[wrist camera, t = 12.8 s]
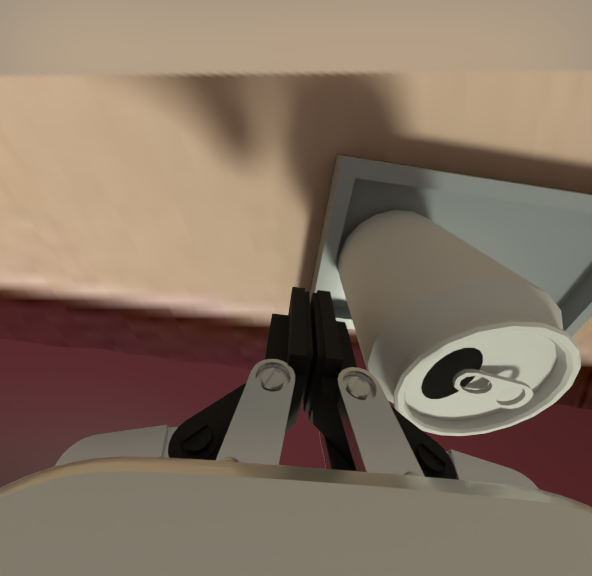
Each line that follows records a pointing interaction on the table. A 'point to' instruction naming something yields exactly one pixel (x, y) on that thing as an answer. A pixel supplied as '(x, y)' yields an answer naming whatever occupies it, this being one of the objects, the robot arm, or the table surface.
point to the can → (452, 328)
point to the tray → (468, 226)
